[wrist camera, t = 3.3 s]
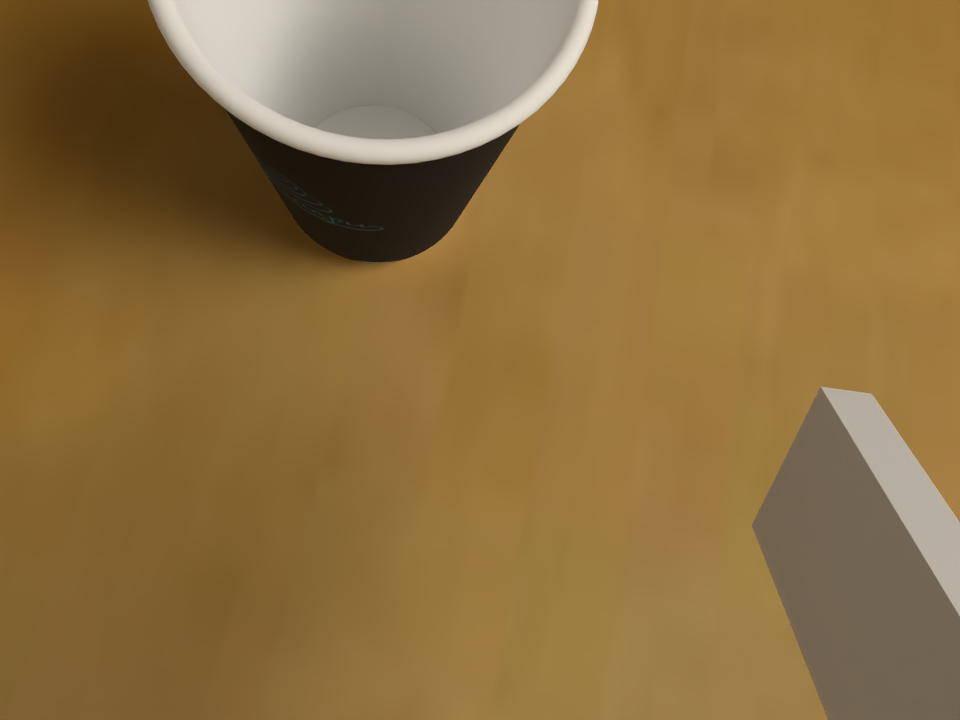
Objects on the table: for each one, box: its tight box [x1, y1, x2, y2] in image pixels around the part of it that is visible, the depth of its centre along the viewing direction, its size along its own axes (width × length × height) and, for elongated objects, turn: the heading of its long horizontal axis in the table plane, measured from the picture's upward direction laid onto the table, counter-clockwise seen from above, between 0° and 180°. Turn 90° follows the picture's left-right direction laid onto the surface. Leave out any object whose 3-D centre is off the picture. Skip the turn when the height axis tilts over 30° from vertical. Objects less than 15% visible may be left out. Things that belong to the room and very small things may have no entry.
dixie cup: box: [148, 0, 599, 263], centre depth 19 cm, size 8×8×11 cm
